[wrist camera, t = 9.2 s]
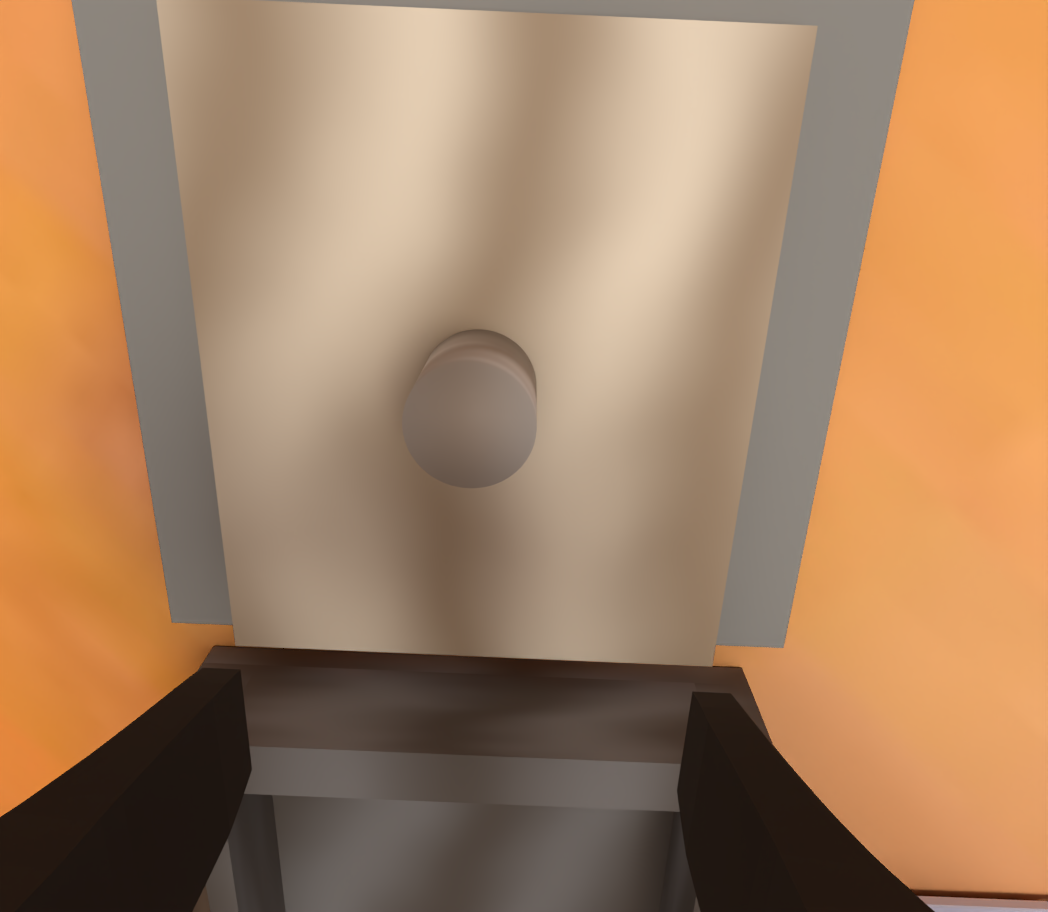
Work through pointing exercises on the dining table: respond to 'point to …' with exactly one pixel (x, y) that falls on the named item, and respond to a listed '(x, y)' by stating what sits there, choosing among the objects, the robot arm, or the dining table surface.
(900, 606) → the dining table surface
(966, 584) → the dining table surface
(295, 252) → the cover plate
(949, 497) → the dining table surface
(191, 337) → the mat
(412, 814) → the slide box
